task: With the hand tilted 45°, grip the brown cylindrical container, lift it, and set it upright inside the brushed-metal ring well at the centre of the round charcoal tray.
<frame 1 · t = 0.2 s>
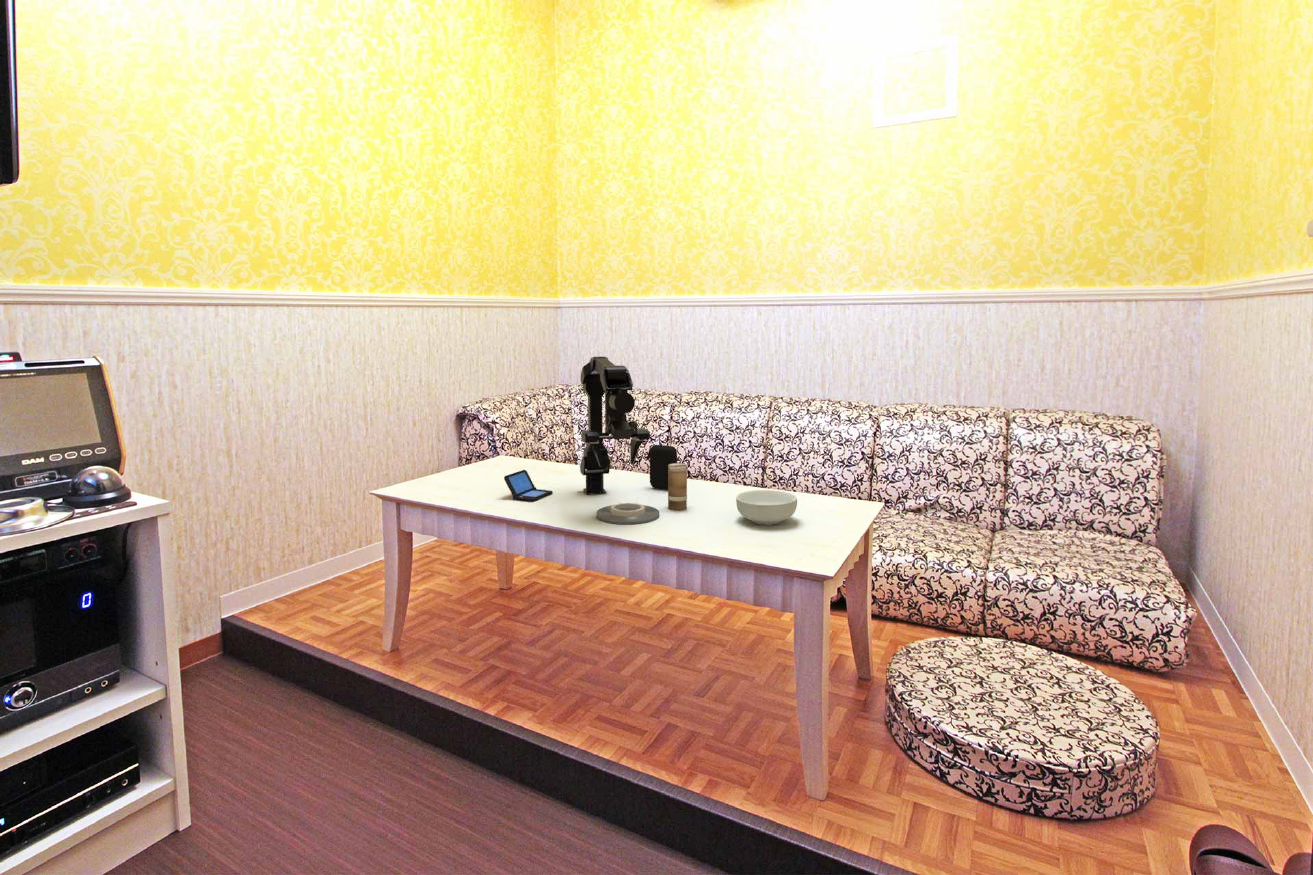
hand: (616, 465, 206), 14 cm above the table, tool pointing down, fingers open, 9 cm apart
handheld game console: (529, 497, 229), on the table
brown cylindrical container: (677, 508, 215), on the table
round tray: (627, 515, 207), on the table
black rounded block: (661, 489, 238), on the table
cereal bowl: (765, 521, 202), on the table
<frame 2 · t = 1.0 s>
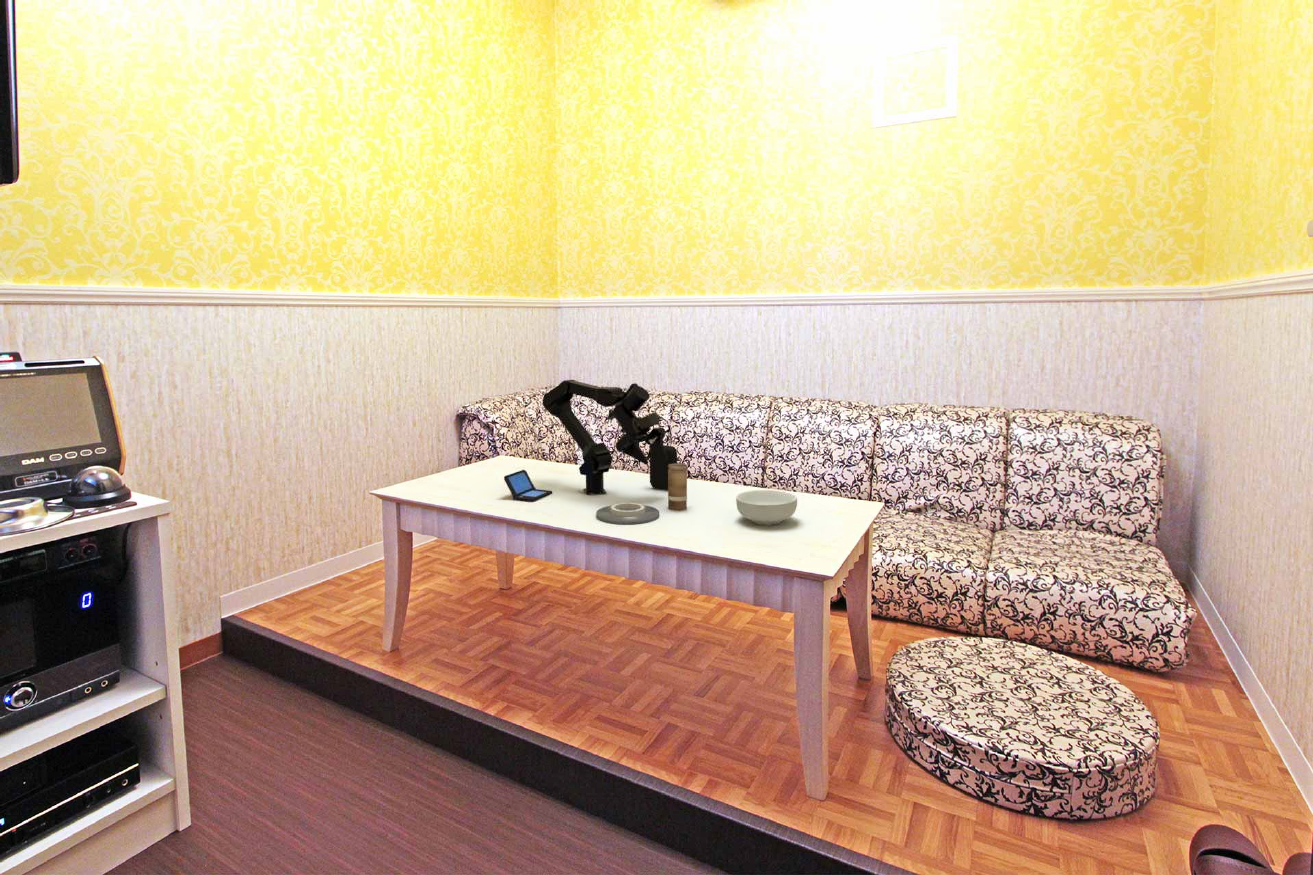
hand: (656, 461, 217), 13 cm above the table, tool tilted 45°, fingers open, 9 cm apart
nothing on the table moved.
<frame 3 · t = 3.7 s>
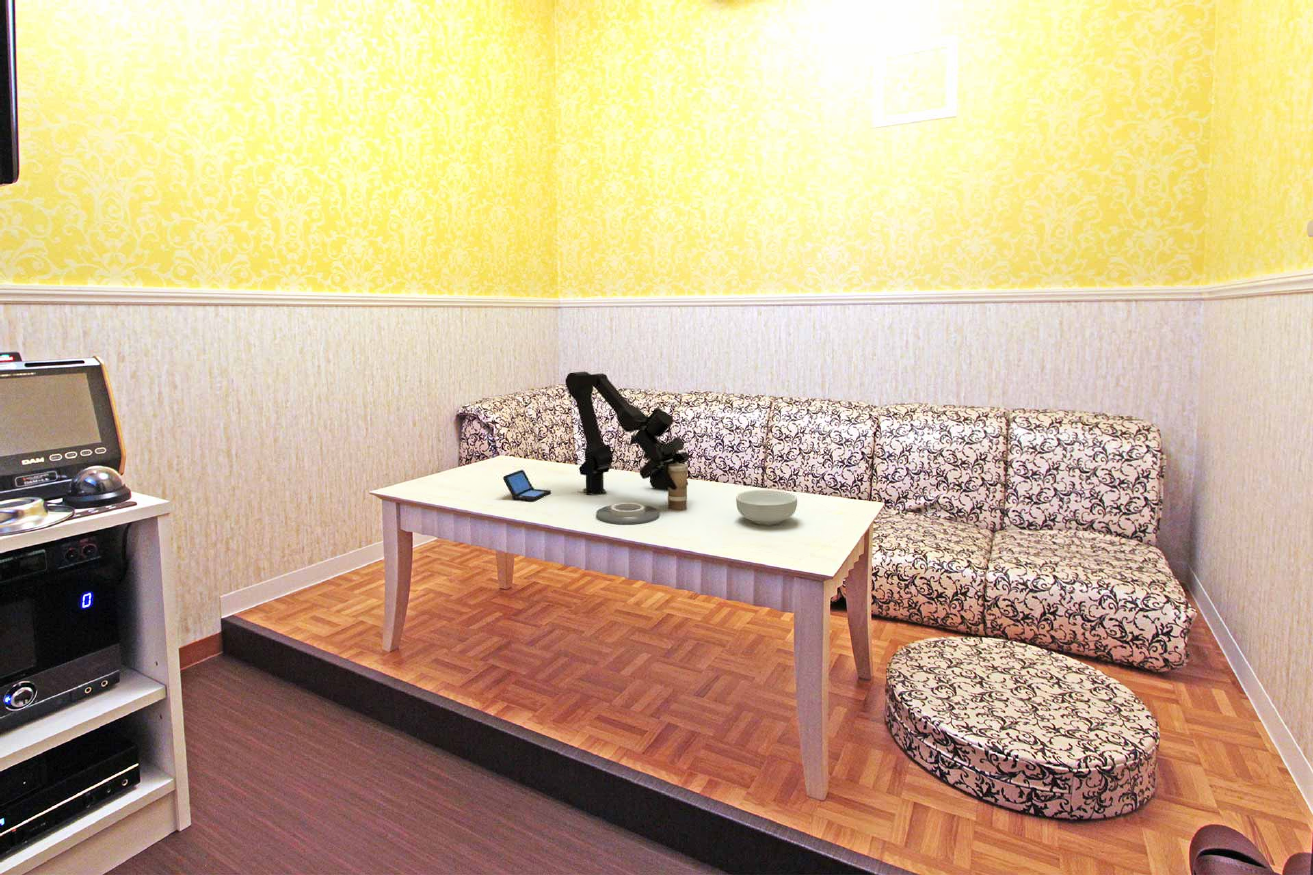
hand: (681, 487, 213), 7 cm above the table, tool tilted 45°, fingers closed on brown cylindrical container, 5 cm apart
brown cylindrical container: (677, 508, 215), on the table, touching gripper
everything else where it was.
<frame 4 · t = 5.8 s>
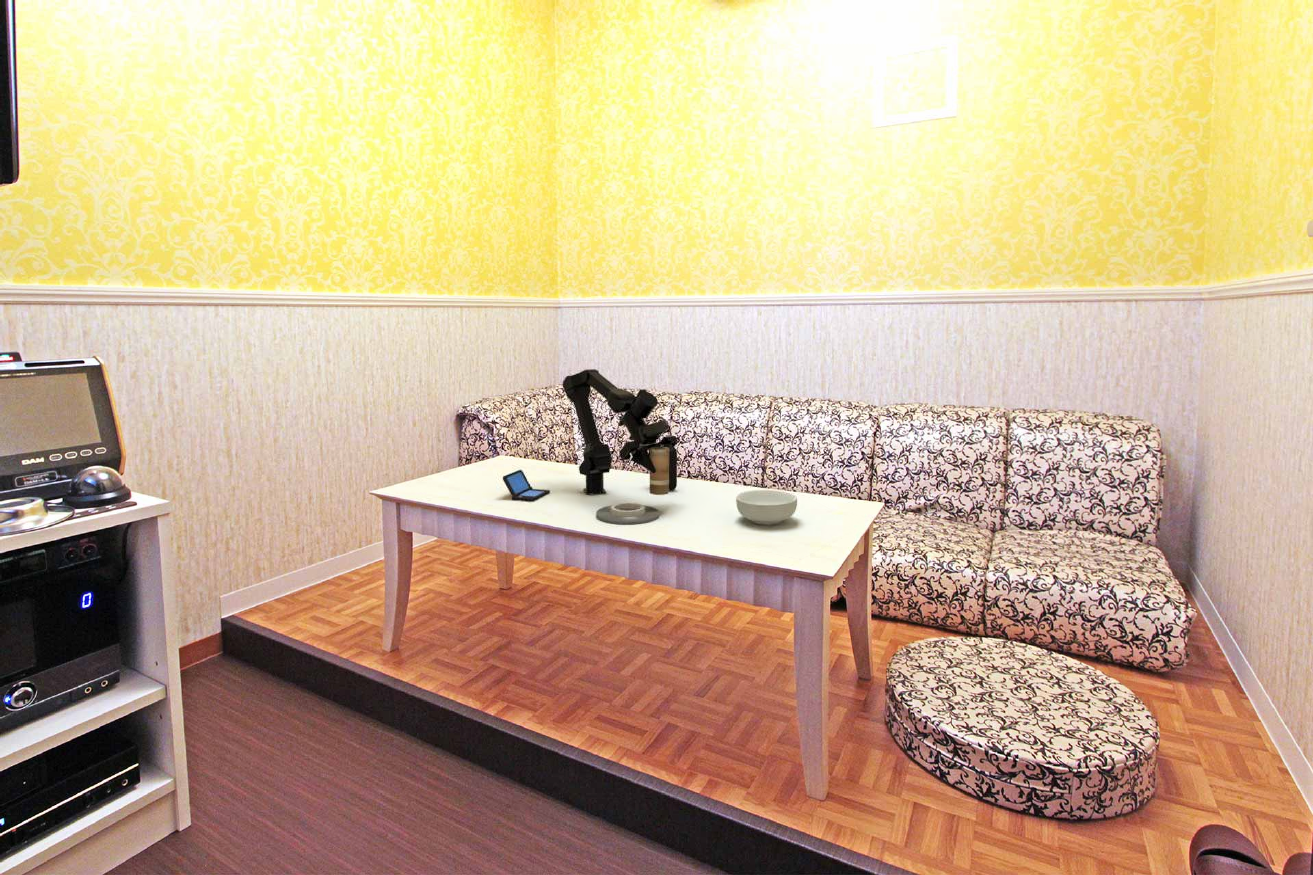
hand: (662, 471, 207), 12 cm above the table, tool tilted 45°, fingers closed on brown cylindrical container, 5 cm apart
brown cylindrical container: (659, 492, 210), point 6 cm above the table, touching gripper
everything else where it was.
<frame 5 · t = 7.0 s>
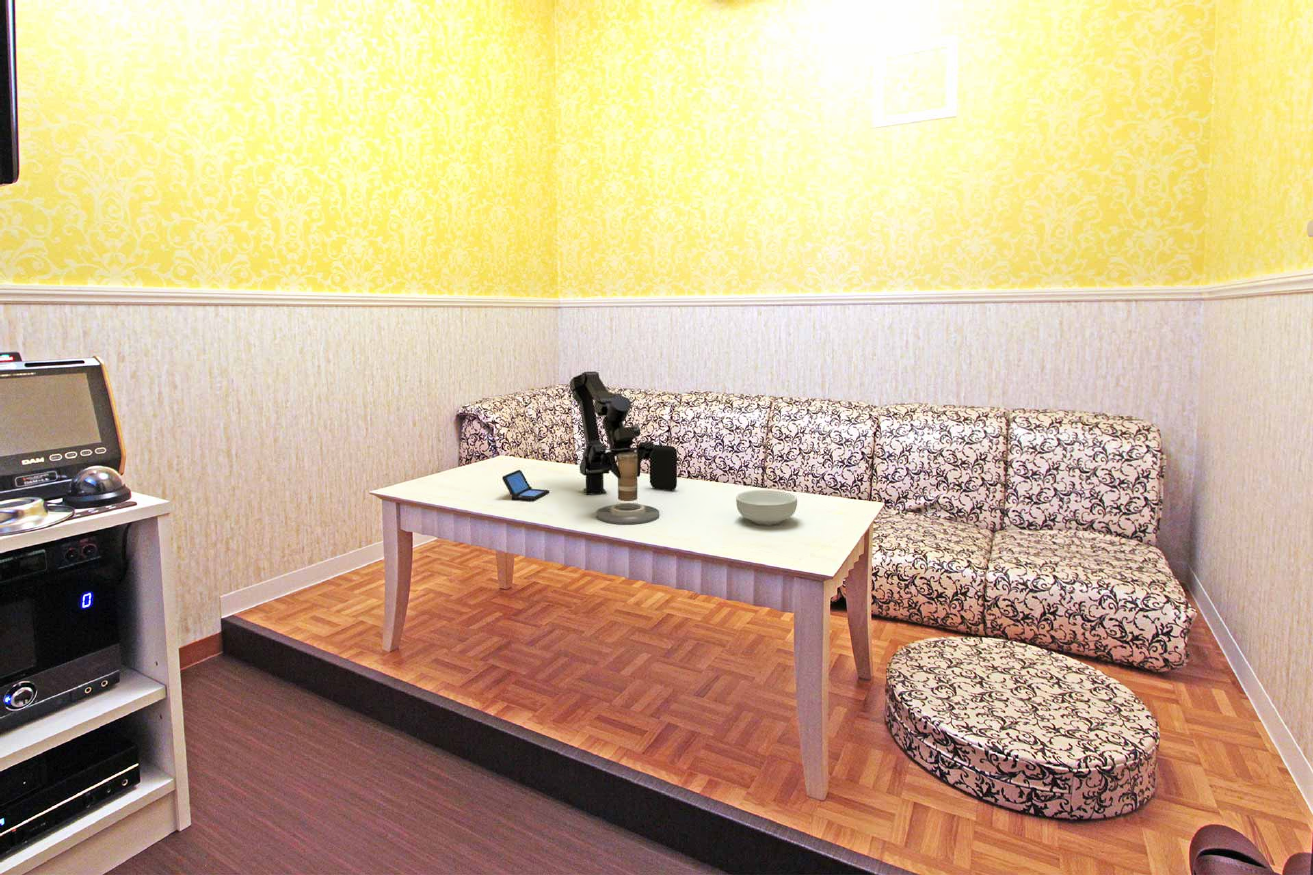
hand: (629, 477, 204), 12 cm above the table, tool tilted 45°, fingers closed on brown cylindrical container, 5 cm apart
brown cylindrical container: (627, 498, 206), point 5 cm above the table, touching gripper
everything else where it was.
when the fingers open (8 cm above the table, at t = 8.0 s): brown cylindrical container stays where it is, resting on round tray.
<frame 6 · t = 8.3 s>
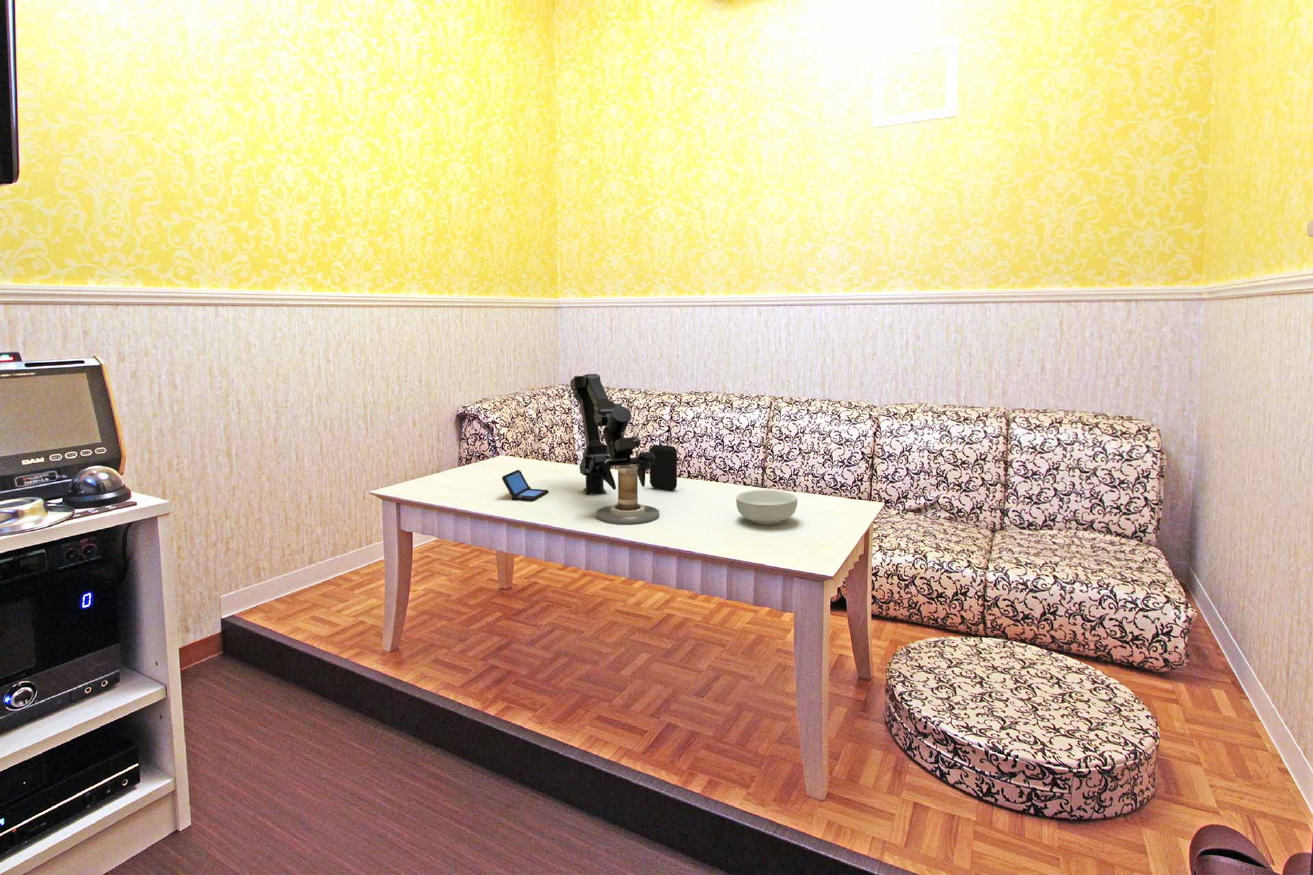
hand: (629, 487, 204), 9 cm above the table, tool tilted 45°, fingers open, 8 cm apart
brown cylindrical container: (627, 512, 207), point 1 cm above the table, touching round tray
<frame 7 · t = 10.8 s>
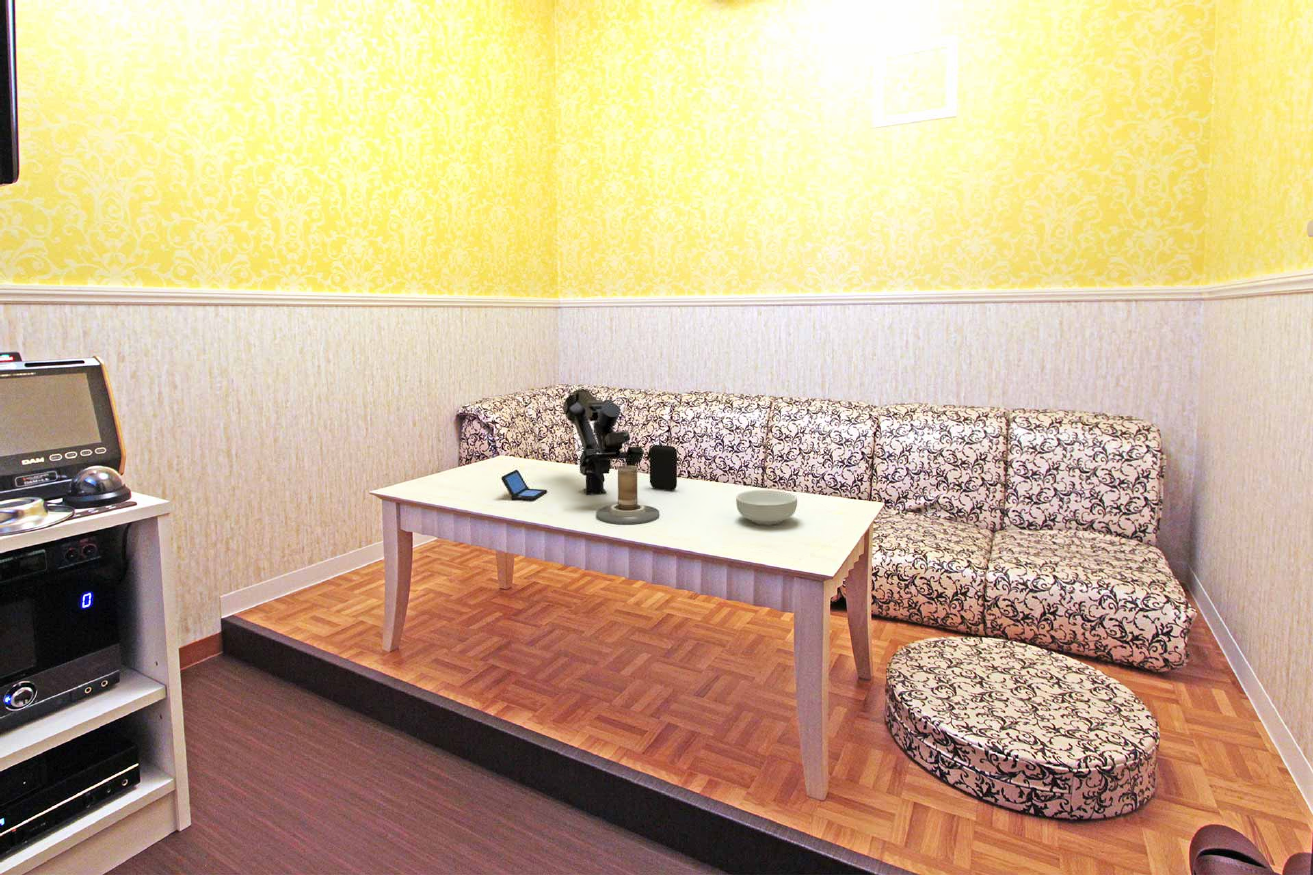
hand: (618, 480, 212), 9 cm above the table, tool tilted 45°, fingers open, 9 cm apart
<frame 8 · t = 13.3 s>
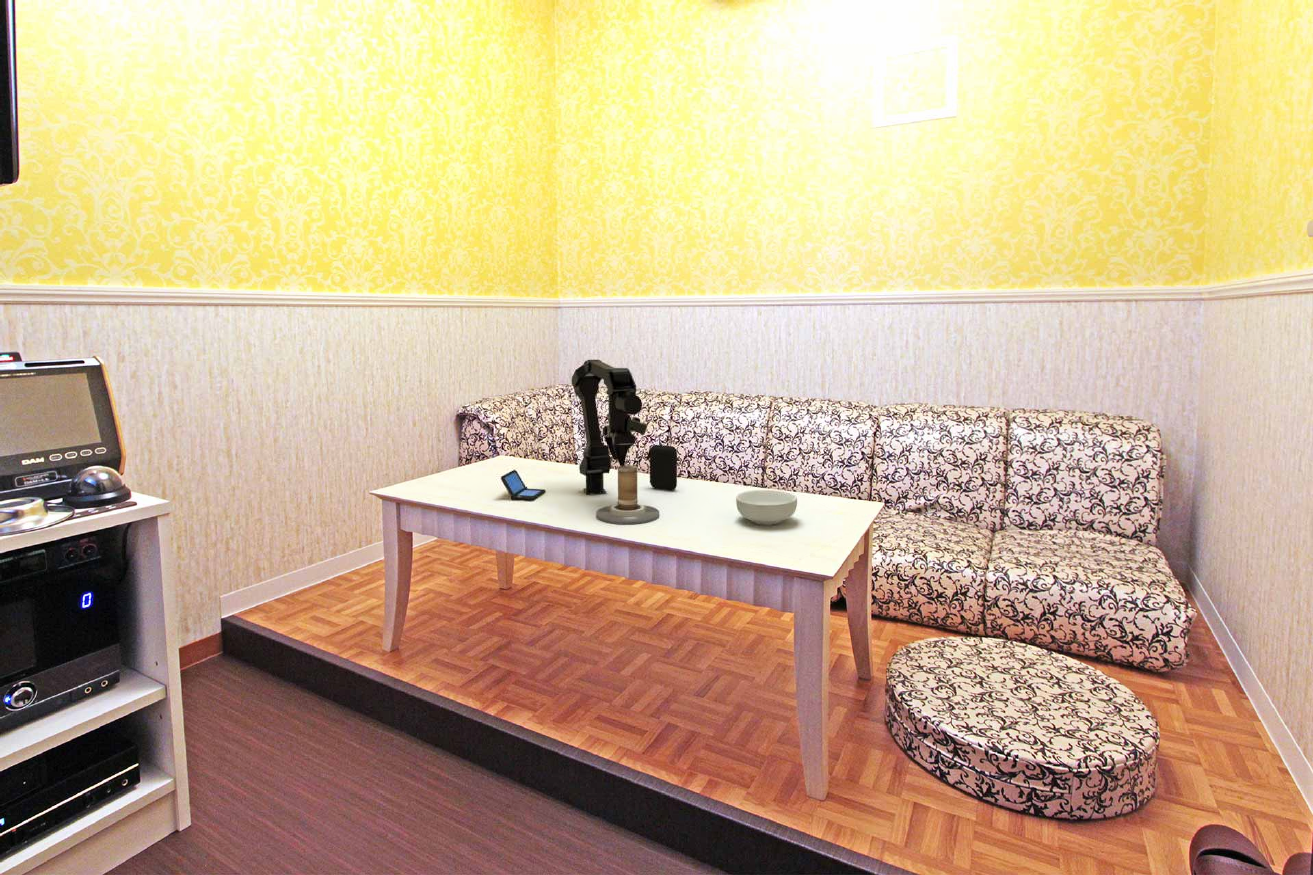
hand: (618, 462, 216), 13 cm above the table, tool pointing down, fingers open, 9 cm apart
at the end: brown cylindrical container 0.1 cm off-centre on the round tray, point 1.0 cm above the round tray's base; brown cylindrical container tilted 0°; the gripper is holding nothing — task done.
